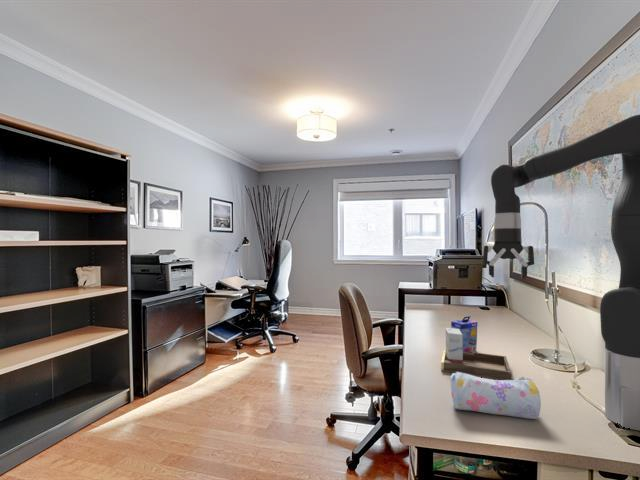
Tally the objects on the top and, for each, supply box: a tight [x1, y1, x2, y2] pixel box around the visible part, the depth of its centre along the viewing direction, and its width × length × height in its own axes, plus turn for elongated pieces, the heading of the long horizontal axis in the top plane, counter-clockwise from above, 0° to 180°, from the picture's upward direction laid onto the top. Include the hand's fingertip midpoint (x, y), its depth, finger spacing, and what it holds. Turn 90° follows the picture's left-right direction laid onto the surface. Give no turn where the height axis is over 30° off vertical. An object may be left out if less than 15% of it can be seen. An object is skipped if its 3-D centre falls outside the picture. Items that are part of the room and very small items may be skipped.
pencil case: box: [449, 372, 542, 420], centre depth 86 cm, size 21×9×10 cm, turn 78°
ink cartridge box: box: [450, 315, 478, 353], centre depth 134 cm, size 10×6×14 cm, turn 117°
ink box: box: [445, 327, 463, 363], centre depth 118 cm, size 9×5×12 cm, turn 165°
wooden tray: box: [440, 347, 512, 380], centre depth 116 cm, size 16×21×3 cm
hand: (507, 277), depth 106 cm, fingers open, 8 cm apart
